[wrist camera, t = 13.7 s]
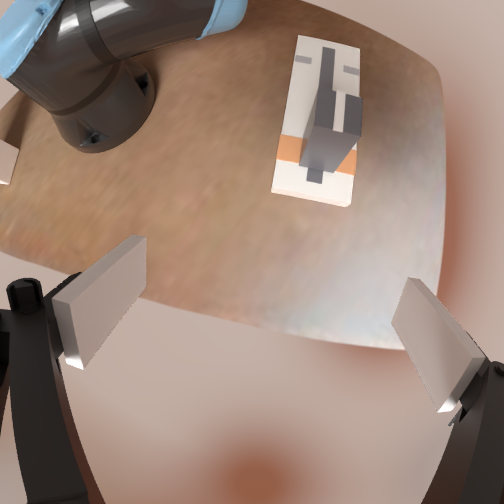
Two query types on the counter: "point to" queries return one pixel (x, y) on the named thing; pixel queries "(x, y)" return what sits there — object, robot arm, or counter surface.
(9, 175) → the milk
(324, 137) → the slider tab
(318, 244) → the counter surface
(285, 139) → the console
